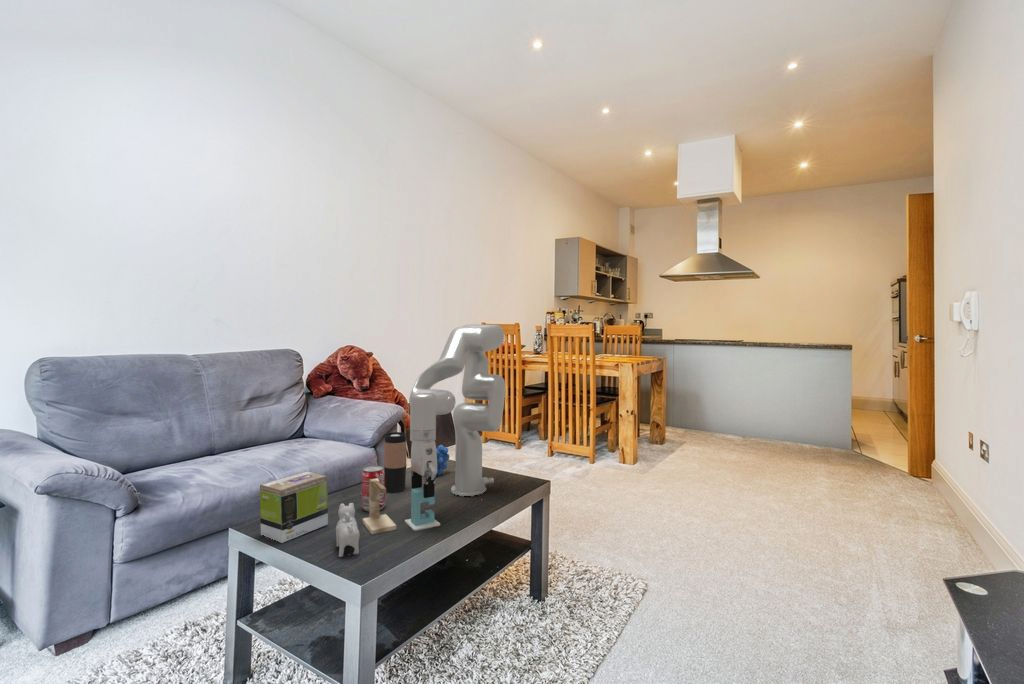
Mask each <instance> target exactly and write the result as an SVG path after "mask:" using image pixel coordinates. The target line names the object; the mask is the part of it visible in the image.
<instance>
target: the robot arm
mask: <svg viewBox="0 0 1024 684" xmlns="http://www.w3.org/2000/svg"><path fill="white" fill-rule="evenodd" d="M504 341H505V332H504V330H503V327H502V326H500V325H498V324H477V323H476V324H474V323H473V324H466V325H462V326H459V327H455V328H453V329H452V330H451V331H450V333H449V336H448V338H447V340H446V343H445V345H444V347H443V350H442V352H441V354H440V357H439V359H438V360H437V361H435V362H434V363H433V364H431V365H429V366H428V367H427V369H425V370H423V372H421V373H420V374H419V375H418V377H417V379H416V380H415V383H414V384H413V386H412V389H411V391H410V394H409V399H408V400H409V401H408V402H409V403H408V405H409V408H410V409H409V411H410V412H409V415H410V416H409V419H410V420H409V441H411V448H410V449H411V450H410V468H411V471H410V472H411V473H410V474H411V479H410V481H411V489H417V488H423V497H424V498H429V497H434V495H435V493H436V488H435V487H436V485H435V484H436V480H437V478H436V476H437V475H436V474H437V452H436V448H437V445H436V444H437V443H436V441H437V416H441V415H447V414H451V412H452V411H453V412H452V419H453V425H454V426H453V427H454V437H455V456H454V457H455V458H454V459H455V461H454V463H455V464H454V465H455V466H454V467H455V471H454V473H455V474H454V475H455V477H454V483H455V484H453V485H452V486H451V487H450V492H451V494H453V495H454V494H455V495H454V496H457V495H459V496H458V497H464V496H471V497H475V496H474V495H478V494H481V493H483V492H485V491H486V492H487V486H486V485H488V484H489V485H490V484H494V483H495V480H494V477H487V476H486V477H483V440H482V438H481V435H480V433H479V432H478V431H480V432H492V433H493V432H497V431H498V430H499V429H500V427H501V425H502V421H503V413H504V408H505V407H504V405H505V397H506V381H505V379H504V377H502V376H501V375H499V374H495V373H493V374H491V373H489V364H490V362H489V359H488V357H487V355H486V352H491V351H494V350H497V349H499V348H500V347H501V346H502V345H503V344H504ZM463 371H464V372H463ZM462 372H463V379H462V385H461V394H462V396H463V397H464V398H465V399H466V400H467V399H468V400H473V401H487V402H488V403H478V402H462V403H459V404H457V405H456V397H455V395H454V394H453V392H451V391H449V390H447V389H435V388H434V389H433V388H432V387H433V386H435V385H436V384H438V383H439V382H441V381H444V380H446V379H450V378H453V377H455V376H458V375H459V374H461V373H462ZM423 482H424V483H423ZM486 492H485V493H486ZM481 495H482V494H481ZM435 496H436V495H435ZM478 496H479V495H478Z"/></svg>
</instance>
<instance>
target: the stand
mask: <svg viewBox="0 0 1024 684" xmlns="http://www.w3.org/2000/svg"><path fill="white" fill-rule="evenodd" d="M379 491H380V492H381V493H385V494H386V493H387V492H386V488H385V487H384V486H383V485H382V484H381V483H380V480H379V479H377V478H376V479H369V512H368V517H364V518H363V517H362V524H363V525H364V526H365V528H366V529H367V531H369V533H370V534H371V535H375V534H381V533H387V532H391V531H395V530H397V524H396V523H395V522H394V521H393V520H392V519H391V518H390V517H389V516H388V515H387V514H386V513H384V514H380V510H379Z"/></svg>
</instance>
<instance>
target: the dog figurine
mask: <svg viewBox="0 0 1024 684" xmlns="http://www.w3.org/2000/svg"><path fill="white" fill-rule="evenodd" d="M337 514H338V517H339V520H338V521H337V523H336V526H335V535H336V536H335V539H336V547H338V548H339V550H338V557H339V558H342V557H344V552H345V548H346V546H350V547H352V548H353V550H354V551H353V552H352V554H353V555H359V552H360V551H359V550H360V549H359V546H360V545H359V542H360V541H359V540H360V535H361V534H360V530H359V529H358V528H359V526H358V523H357V520H356V517H355V515H356V509H355V504H354V503H353V502H350V503H348V505H345V504H344V503H340V505H339V506H338V512H337Z"/></svg>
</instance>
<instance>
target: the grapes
mask: <svg viewBox="0 0 1024 684" xmlns="http://www.w3.org/2000/svg"><path fill="white" fill-rule="evenodd" d="M436 452H437V474H436V476H438V475H439V476H441V475H442V474H443V471H444V470H446V469H447V468H448V463H447V461H449V460H450V454H449V448H448V447H447V446H444V444H440V445H438V446H437V447H436Z"/></svg>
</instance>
